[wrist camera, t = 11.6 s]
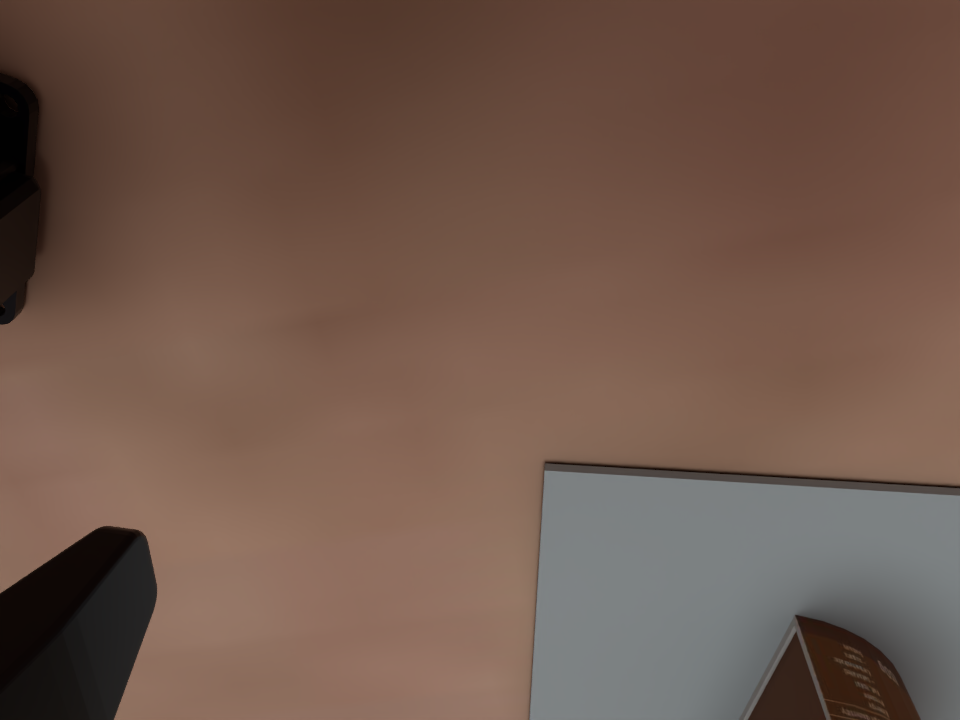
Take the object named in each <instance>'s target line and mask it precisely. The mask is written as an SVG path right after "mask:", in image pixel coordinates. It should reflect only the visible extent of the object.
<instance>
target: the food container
mask: <svg viewBox="0 0 960 720" xmlns="http://www.w3.org/2000/svg"><path fill="white" fill-rule="evenodd" d="M739 720H921V718H920V716H919V714H918V712H917V710H916V708H915V706H914V704H913V702H912V699H911V697H910V695H909V693H908V691H907V689H906V687H905V685H904V683H903V680H902V678H901V676H900V675H899V673H898V671H897V670H896V668H895V666H894V665H893V663H892V662H891V661H890V660H889V659H888V658H887V657H886V656H885V655H884V654H883V653H882V652H881V651H880V650H879V649H878V648H876V647H875V646H874V645H872V644H871V643H870V642H868V641H867V640H865V639H864V638H862V637H860V636H858V635H856V634H854V633H852V632H850V631H848V630H846V629H844V628H841V627H839V626H836V625H833V624H830V623H827V622H825V621H821V620H817V619H812V618H808V617H804V616H799V615H795V616H794V618H793V620H792V621H791V623H790V625H789V627H788V629H787V631H786V633H785V634H784V636H783V638H782V640H781V642H780V644H779V646H778V648H777V649H776V651H775V653H774V655H773V657H772V659H771V661H770V662H769V664H768V666H767V668H766V670H765V672H764V674H763V675H762V677H761V679H760V681H759V683H758V685H757V687H756V689H755V690H754V692H753V694H752V696H751V698H750V700H749V702H748V703H747V705H746V707H745V709H744V711H743V713H742V715H741V717H740V718H739Z"/></svg>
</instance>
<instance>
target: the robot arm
mask: <svg viewBox="0 0 960 720" xmlns="http://www.w3.org/2000/svg"><path fill="white" fill-rule="evenodd" d="M5 95H8V96H10V97H11V98H13V99H14V101H15V102H16V103H17V106H18V111H14V110H13V109H11V108H10V107H9V106H8V105H7V103H6V101H5V97H4V96H5ZM38 112H39V107H38V100H37V98H36V96H35V94H34V92H33V91H32V90H31V89H30V87H29V86H28V85H27V84H25V83H24V82H22V81H20V80H18V79H16V78H13V77H11V76H8V75H5V74H3V73H0V305H2V304H3V305H4V307H5V308H3V307H1V306H0V324H1V325H3V324H8V323H10V322H11V321H12V320H14V319H15V318H16V317H17V316H18V315H19V314H20V313H21V311H22V309H23V304H24V291H25V282H26V281H27V280H28V279H30V278H31V277H32V275H33V274H34V268H35V256H36V244H37V232H38V221H39V209H40V197H41V189H40V187H39V185H38V183H37V181H36V179H35V178H34V177H33V176H34V163H35V150H36V137H37V124H38ZM156 598H157V583H156V579H155V574H154V569H153V564H152V560H151V555H150V550H149V546H148V541H147V538H146V536H145V535H144V534H143V533H142V532H141V531H139V530H135V529H128V528H120V527H113V526H104V527H100V528H98V529H96V530H94V531H92V532H91V533H89V534H88V535H86V536H85V537H83V538H82V539H80V540H79V541H77V542H76V543H74V544H73V545H71V546H70V547H68V548H67V549H66V550H64V551H63V552H61V553H60V554H58V555H57V556H55V557H54V558H52V559H51V560H49V561H48V562H46V563H45V564H43V565H42V566H40V567H39V568H37V569H36V570H34V571H33V572H31V573H30V574H28V575H27V576H25V577H24V578H22V579H21V580H19V581H18V582H17V583H15V584H14V585H12V586H11V587H9V588H8V589H6V590H5V591H3V592H2V593H0V720H114V718H115V715H116V712H117V710H118V707H119V704H120V701H121V699H122V696H123V693H124V690H125V688H126V685H127V682H128V680H129V677H130V674H131V671H132V669H133V666H134V663H135V660H136V658H137V655H138V652H139V649H140V647H141V644H142V641H143V638H144V636H145V633H146V630H147V627H148V625H149V622H150V619H151V616H152V614H153V611H154V607H155V603H156Z"/></svg>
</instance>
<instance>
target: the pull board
mask: <svg viewBox="0 0 960 720" xmlns="http://www.w3.org/2000/svg"><path fill="white" fill-rule="evenodd" d="M795 615H799V616H804V617H808V618H812V619H817V620H821V621H825V622H827V623H830V624H833V625H836V626H839V627H841V628H844V629H846V630H848V631H850V632H852V633H854V634H856V635H858V636H860V637H862V638H864V639H865V640H867V641H868V642H870V643H871V644H872V645H874V646H875V647H876V648H878V649H879V650H880V651H881V652H882V653H883V654H884V655H885V656H886V657H887V658H888V659H889V660H890V661H891V662H892V663H893V665H894V666H895V668H896V670H897V671H898V673H899V675H900V676H901V678H902V680H903V683H904V685H905V687H906V689H907V691H908V693H909V695H910V697H911V699H912V702H913V704H914V706H915V708H916V710H917V712H918V714H919V716H920V718H921V720H960V488H945V487H928V486H912V485H895V484H879V483H862V482H845V481H829V480H812V479H796V478H779V477H763V476H746V475H729V474H713V473H696V472H680V471H663V470H646V469H630V468H613V467H597V466H580V465H563V464H547V463H545V472H544V488H543V505H542V521H541V538H540V554H539V571H538V587H537V604H536V620H535V637H534V653H533V670H532V686H531V703H530V719H529V720H739V718H740V717H741V715H742V713H743V711H744V709H745V707H746V705H747V703H748V702H749V700H750V698H751V696H752V694H753V692H754V690H755V689H756V687H757V685H758V683H759V681H760V679H761V677H762V675H763V674H764V672H765V670H766V668H767V666H768V664H769V662H770V661H771V659H772V657H773V655H774V653H775V651H776V649H777V648H778V646H779V644H780V642H781V640H782V638H783V636H784V634H785V633H786V631H787V629H788V627H789V625H790V623H791V621H792V620H793V618H794V616H795Z"/></svg>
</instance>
